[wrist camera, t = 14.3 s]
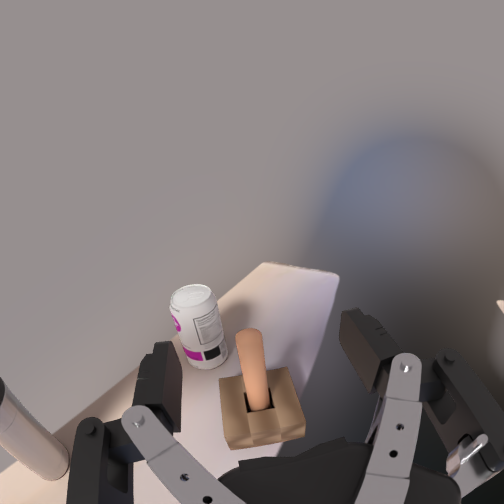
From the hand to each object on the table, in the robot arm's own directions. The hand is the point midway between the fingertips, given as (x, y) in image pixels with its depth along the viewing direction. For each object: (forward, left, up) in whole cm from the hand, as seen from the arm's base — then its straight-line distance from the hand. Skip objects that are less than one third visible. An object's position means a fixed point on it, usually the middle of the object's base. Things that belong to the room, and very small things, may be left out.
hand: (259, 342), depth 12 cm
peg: (0, +14, -30) cm, 33 cm away
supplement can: (-8, +30, -30) cm, 43 cm away
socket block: (0, +14, -30) cm, 33 cm away
